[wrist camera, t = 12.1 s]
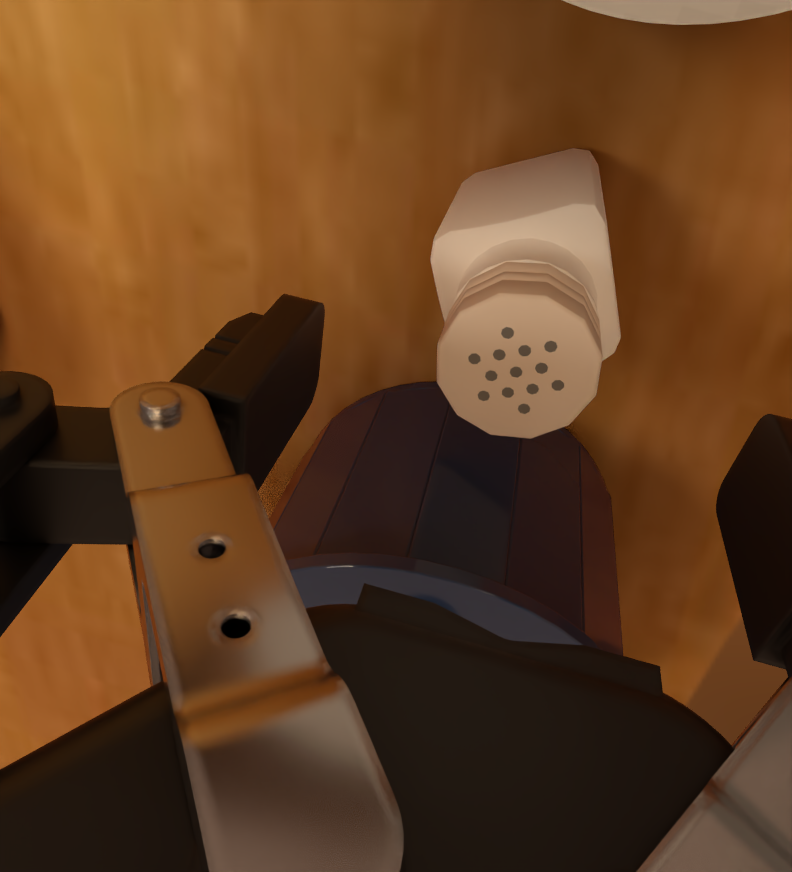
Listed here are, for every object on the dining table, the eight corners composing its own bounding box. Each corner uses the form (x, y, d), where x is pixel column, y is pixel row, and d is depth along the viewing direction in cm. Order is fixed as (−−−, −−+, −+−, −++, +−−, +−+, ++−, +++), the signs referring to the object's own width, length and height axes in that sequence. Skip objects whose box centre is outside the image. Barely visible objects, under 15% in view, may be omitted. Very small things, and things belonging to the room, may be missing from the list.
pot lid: (643, 532, 15) (675, 767, 11) (646, 844, 22) (666, 1064, 18) (129, 537, 19) (-7, 711, 15) (272, 801, 26) (210, 973, 22)
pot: (605, 367, 23) (623, 566, 15) (615, 625, 29) (631, 853, 22) (264, 393, 26) (140, 565, 19) (343, 617, 33) (274, 811, 25)
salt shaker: (457, 173, 20) (390, 295, 13) (594, 138, 19) (612, 250, 11) (485, 295, 22) (441, 465, 15) (611, 271, 21) (636, 445, 13)
